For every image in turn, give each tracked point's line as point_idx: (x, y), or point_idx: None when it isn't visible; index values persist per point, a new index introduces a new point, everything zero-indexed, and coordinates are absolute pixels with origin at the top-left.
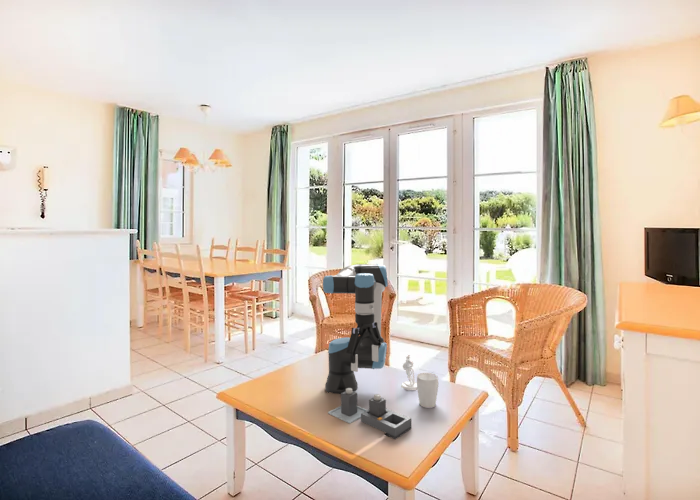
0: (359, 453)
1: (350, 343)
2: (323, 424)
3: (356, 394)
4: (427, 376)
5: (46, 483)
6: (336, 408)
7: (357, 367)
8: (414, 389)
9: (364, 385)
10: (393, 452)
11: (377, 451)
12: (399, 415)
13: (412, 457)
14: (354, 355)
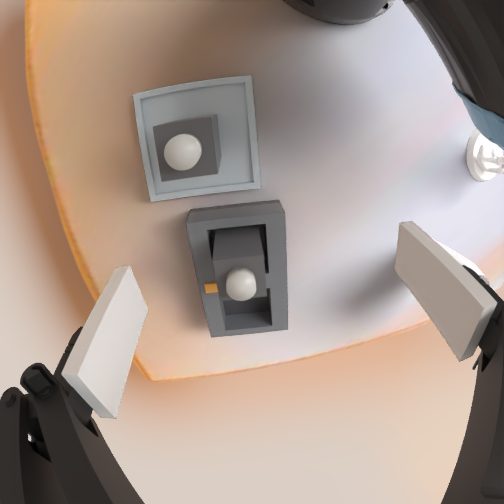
0: None
1: (16, 490)
2: (95, 137)
3: (213, 173)
4: (482, 277)
5: None
6: (175, 88)
7: (138, 330)
8: (474, 177)
9: (412, 21)
10: (174, 340)
11: (147, 321)
12: (275, 305)
13: (194, 364)
14: (85, 404)
